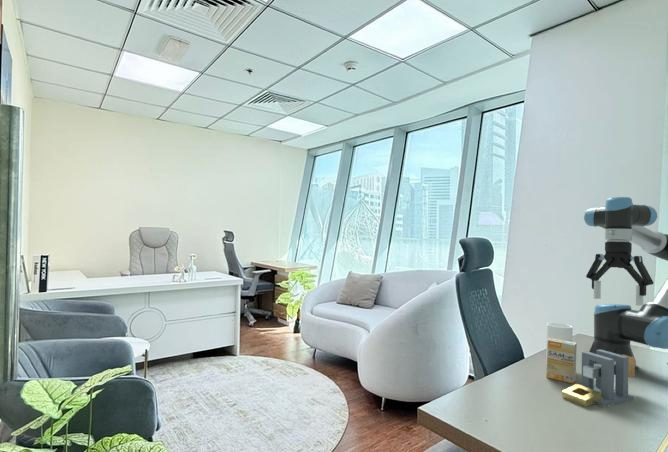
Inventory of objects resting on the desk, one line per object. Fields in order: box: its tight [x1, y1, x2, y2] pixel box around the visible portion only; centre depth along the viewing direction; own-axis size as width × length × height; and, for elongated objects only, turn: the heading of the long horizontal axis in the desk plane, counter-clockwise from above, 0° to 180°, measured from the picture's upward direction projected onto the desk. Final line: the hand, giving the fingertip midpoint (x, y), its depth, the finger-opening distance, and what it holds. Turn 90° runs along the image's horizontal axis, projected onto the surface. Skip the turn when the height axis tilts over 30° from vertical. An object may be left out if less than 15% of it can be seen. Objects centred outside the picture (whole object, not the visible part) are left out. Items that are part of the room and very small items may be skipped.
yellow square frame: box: [561, 383, 601, 408], centre depth 111 cm, size 2×7×7 cm
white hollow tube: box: [545, 322, 573, 368], centre depth 140 cm, size 8×8×16 cm
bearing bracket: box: [579, 350, 635, 408], centre depth 115 cm, size 15×10×13 cm, turn 113°
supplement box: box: [545, 338, 578, 385], centre depth 129 cm, size 8×5×13 cm, turn 50°
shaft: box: [583, 355, 636, 380], centre depth 117 cm, size 20×3×6 cm, turn 113°
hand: (617, 301), depth 132 cm, fingers open, 13 cm apart
